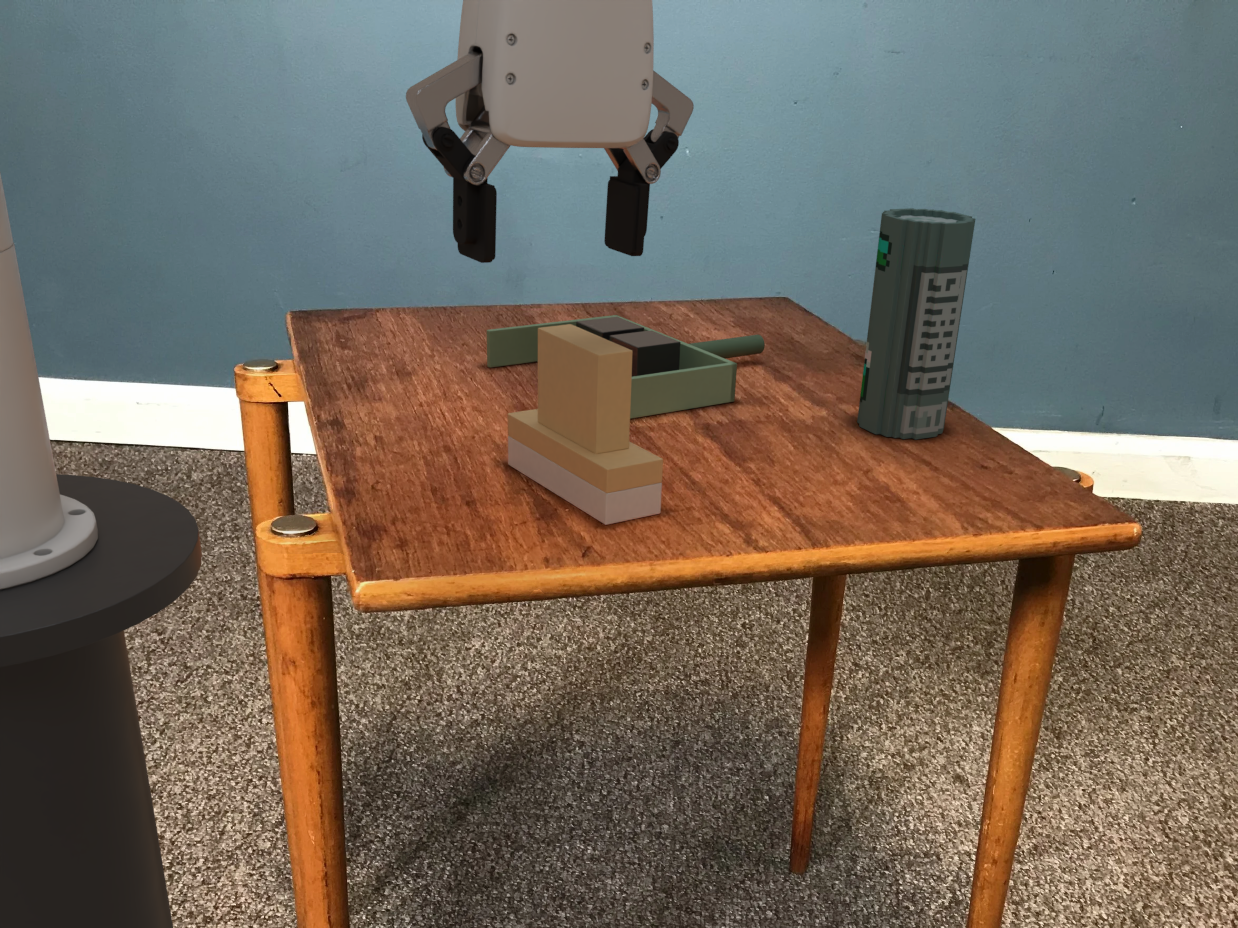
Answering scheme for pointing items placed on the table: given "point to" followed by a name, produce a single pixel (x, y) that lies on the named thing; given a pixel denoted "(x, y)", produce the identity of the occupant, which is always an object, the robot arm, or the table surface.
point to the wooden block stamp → (585, 429)
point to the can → (914, 321)
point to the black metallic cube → (609, 326)
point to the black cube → (650, 351)
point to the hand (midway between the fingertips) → (552, 254)
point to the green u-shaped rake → (691, 386)
